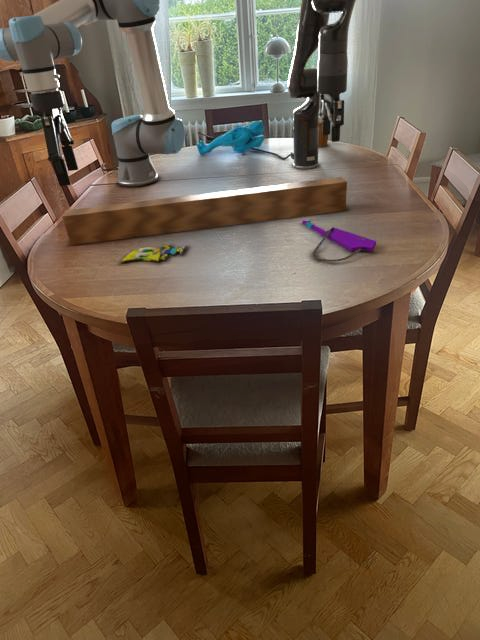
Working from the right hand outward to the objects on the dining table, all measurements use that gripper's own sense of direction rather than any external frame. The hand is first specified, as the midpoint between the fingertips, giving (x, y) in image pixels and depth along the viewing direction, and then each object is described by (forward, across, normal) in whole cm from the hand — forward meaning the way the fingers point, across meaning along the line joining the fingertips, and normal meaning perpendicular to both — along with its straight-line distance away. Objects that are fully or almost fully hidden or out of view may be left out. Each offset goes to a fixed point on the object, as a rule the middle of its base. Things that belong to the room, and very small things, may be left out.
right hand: (330, 137), depth 132 cm
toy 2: (+22, +80, +19) cm, 86 cm away
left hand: (+3, 0, +72) cm, 72 cm away
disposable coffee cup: (+21, +76, -19) cm, 81 cm away
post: (+21, 0, +36) cm, 41 cm away
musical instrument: (+20, -24, +7) cm, 32 cm away
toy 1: (+21, -16, +52) cm, 58 cm away
